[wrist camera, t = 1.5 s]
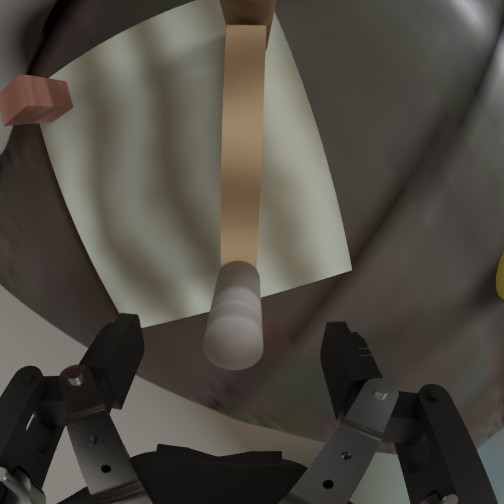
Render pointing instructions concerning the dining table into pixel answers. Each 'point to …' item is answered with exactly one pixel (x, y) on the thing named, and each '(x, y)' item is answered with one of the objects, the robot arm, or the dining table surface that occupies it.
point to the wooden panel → (239, 205)
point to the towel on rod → (181, 160)
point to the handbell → (500, 277)
